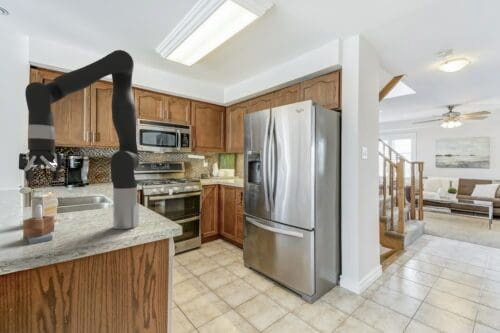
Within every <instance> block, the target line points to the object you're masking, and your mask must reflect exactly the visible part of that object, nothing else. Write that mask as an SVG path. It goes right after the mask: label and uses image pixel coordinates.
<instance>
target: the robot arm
mask: <svg viewBox="0 0 500 333" xmlns="http://www.w3.org/2000/svg"><path fill="white" fill-rule="evenodd" d="M133 58H134V57H133V56H132V55H131V54H130V53H129V52H127V51H126V50H122V49H117V50H113V51H112V52H110V53H108V54H107V55H105V56H103V57H101V58H100V59H98V60H96V61H94V62H92V63H89V64H87V65H85V66H83V67H79V68H77V69H74V70H72V71H70V72H66V73H63V74H61V75H58V76H55V78H54V79H53V81H51V82H49V83H46V84H44V83H42V82H39V81H32V82H30V83H29V84H27V85H26V88H25V91H24V92H25V102H26V106H27V111H28V127H27V144H28V145H27V149H28V151H29V152H28V153H19V155H18V169H19V170H22V171H24V172H25V173H24V174H25V180H26V181H27V182H34V169H35V168H36V167H38V166H47V167H49V168H50V170H52V171H51V180H52V182H58V181H59V180H60V172H61V171H62V170H66V160H65V159H66V158H65V153H55V151H56V131H55V120H54V119H55V118H54V114H53V112H52V104H54V103H57V102H59V101H60V100H62V99H64V98H65V97H67V96H68V95H71V94H75V93H77V92H79V91H82V90H85V89H86V88H88V87H90V86H92V85H93V84H95V83H97V82H98V81H99V80H101V79H103V78H105V77H108V76H110V75H111V80H112V81H111V82H112V87H113V88H112V95H111V120H112V124H113V128H114V130H115V132H116V136H117V138H118V145H119V148H118V151H116V152H114V153H113V154H112V156H111V158H110V178H111V183H112V187H113V188H112V191H113V192H112V204H113V206H112V214H113V215H112V216H113V217H112V218H113V219H112V220H113V221H112V222H113V223H112V225H113V227H112V228H113V229H115V230H129V229H134V228H136V227H138V225H139V224H140V215H139V214H140V204H139V203H138V181H137V180H136V177H135V170H136V169H137V168H138V167H139V165H140V156H139V150H138V145H137V143H138V142H137V114H136V113H137V112H136V102H135V98H134V94H133V89H132V85H133V84H132V83H133V72H134V67H135V63H134V62H135V60H134V59H133ZM29 159H30V160H29ZM55 160H56V161H55Z"/></svg>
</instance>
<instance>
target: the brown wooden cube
mask: <svg viewBox="0 0 500 333" xmlns="http://www.w3.org/2000/svg"><path fill="white" fill-rule="evenodd" d="M22 221H23V224H22V227H23V231H22V232H23V235H22V236H23V238H27V237H42V236H44V235H47V234H49V233H51V234H52V233H54V232H55V221H54V216H42V219H36V217H32V216H31V217H29V218H26V219H23V220H22Z"/></svg>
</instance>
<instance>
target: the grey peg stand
mask: <svg viewBox="0 0 500 333" xmlns="http://www.w3.org/2000/svg"><path fill="white" fill-rule="evenodd" d="M36 219H42V205H37V206H36ZM26 238H27V241H28V244H29V245H32V244H38V243H43V242H44V243H45V242H50V241H53V235H52V232H51V233H49V234H47V235H44V236H42V237H26Z"/></svg>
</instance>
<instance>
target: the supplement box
mask: <svg viewBox="0 0 500 333" xmlns="http://www.w3.org/2000/svg"><path fill="white" fill-rule="evenodd" d="M57 204H58V202H57V193H48V192H47V193H43V194H37V195H33V196H31V210H32V211H31V214H32V215H31V218H32V217H36V206H37V205H42V216H54V222H57V221H58V206H57Z"/></svg>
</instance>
